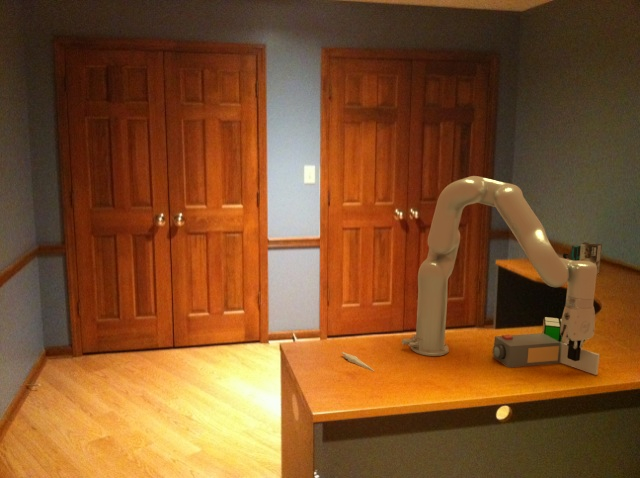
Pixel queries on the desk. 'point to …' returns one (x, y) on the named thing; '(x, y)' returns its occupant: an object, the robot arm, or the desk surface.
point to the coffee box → (591, 253)
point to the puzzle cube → (552, 328)
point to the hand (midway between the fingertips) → (573, 359)
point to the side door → (586, 362)
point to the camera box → (526, 350)
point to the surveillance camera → (573, 254)
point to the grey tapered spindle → (356, 361)
